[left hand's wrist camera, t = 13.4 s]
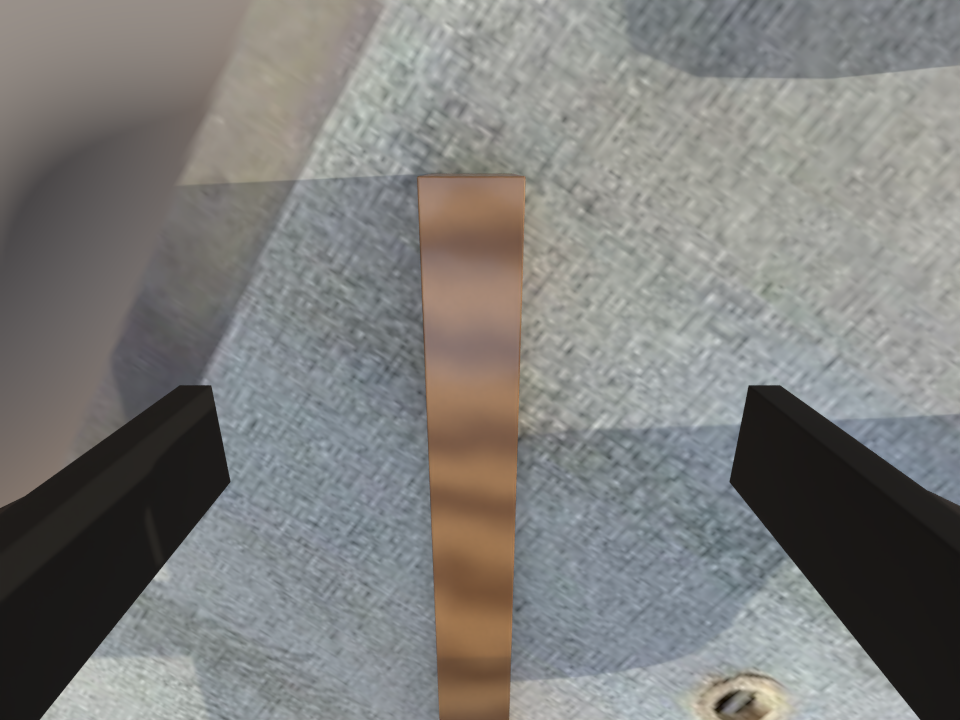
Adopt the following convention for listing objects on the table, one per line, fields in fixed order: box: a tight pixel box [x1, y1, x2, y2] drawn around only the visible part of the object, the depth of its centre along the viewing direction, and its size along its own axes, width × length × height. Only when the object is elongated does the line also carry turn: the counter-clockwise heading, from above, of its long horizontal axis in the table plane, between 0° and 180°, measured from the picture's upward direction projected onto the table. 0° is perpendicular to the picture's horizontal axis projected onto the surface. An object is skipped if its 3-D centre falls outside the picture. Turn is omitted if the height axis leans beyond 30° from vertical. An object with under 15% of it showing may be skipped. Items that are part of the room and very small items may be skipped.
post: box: [417, 174, 525, 720], centre depth 40 cm, size 70×5×8 cm, turn 0°
